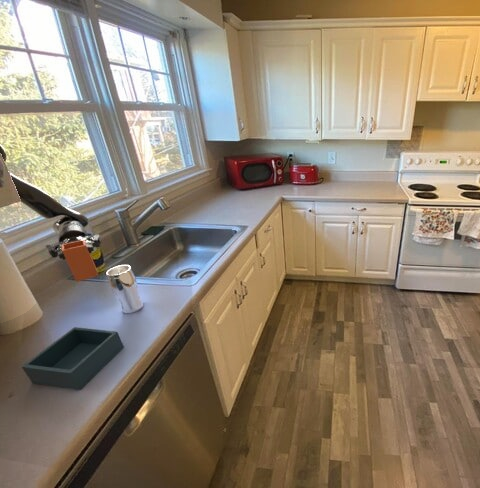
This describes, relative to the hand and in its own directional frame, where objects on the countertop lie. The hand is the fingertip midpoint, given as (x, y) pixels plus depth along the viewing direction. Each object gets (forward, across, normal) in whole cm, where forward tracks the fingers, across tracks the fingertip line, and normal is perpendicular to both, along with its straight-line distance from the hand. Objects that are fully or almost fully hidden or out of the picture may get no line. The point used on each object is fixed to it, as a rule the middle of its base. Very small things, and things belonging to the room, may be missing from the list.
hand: (76, 253), depth 85 cm
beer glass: (+6, +8, +22) cm, 24 cm away
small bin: (-3, 0, +9) cm, 9 cm away
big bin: (+23, -7, +22) cm, 33 cm away
